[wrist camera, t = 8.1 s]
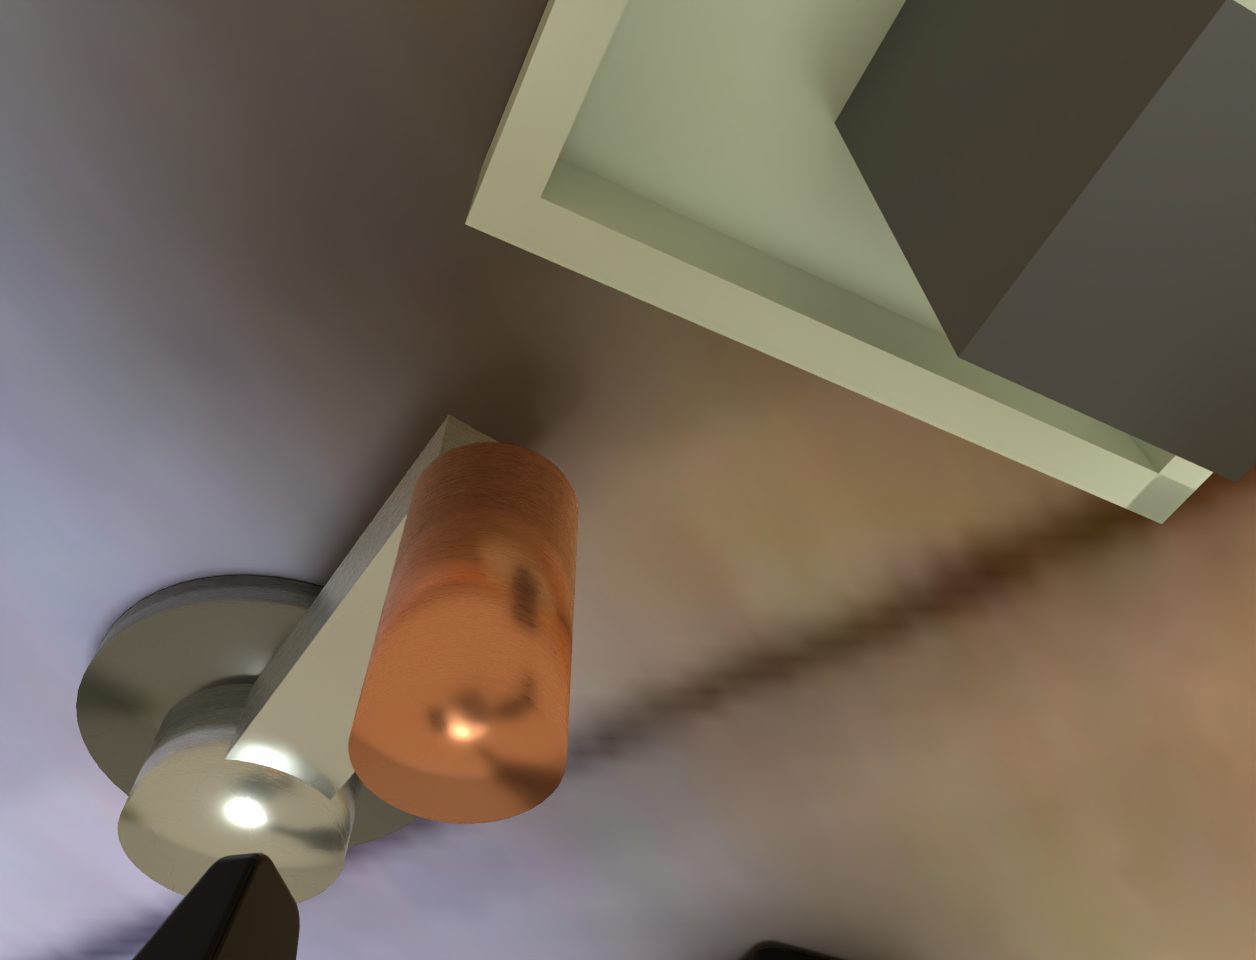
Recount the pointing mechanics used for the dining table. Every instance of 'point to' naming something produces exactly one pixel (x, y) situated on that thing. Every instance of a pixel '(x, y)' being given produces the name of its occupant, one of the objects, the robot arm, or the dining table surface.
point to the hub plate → (194, 670)
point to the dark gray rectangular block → (1081, 202)
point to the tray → (762, 214)
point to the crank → (386, 682)
